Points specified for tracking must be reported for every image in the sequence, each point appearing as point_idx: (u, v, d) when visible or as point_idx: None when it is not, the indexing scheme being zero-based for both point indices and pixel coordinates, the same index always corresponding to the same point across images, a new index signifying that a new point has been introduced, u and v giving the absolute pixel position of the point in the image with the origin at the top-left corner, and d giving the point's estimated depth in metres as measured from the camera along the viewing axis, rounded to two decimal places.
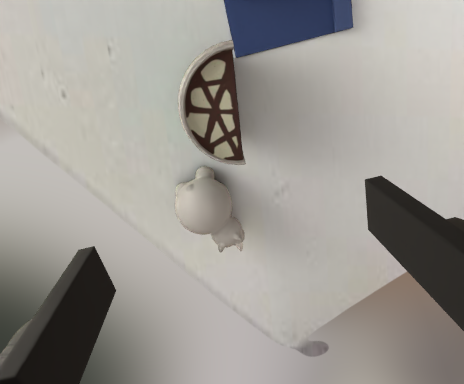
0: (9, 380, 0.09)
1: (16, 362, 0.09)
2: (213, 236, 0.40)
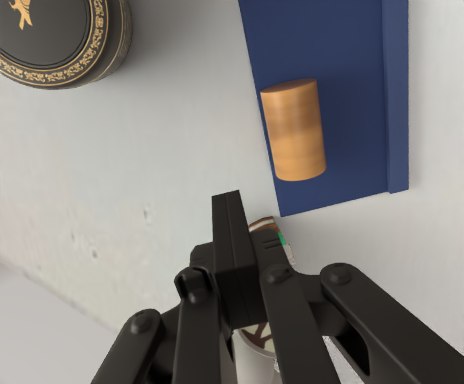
0: (229, 272, 0.11)
1: (226, 261, 0.11)
2: None
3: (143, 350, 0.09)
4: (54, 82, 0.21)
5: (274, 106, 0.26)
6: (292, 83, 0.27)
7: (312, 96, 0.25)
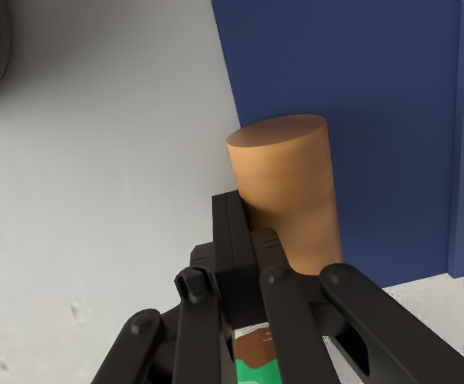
0: (230, 272, 0.11)
1: (227, 261, 0.11)
2: None
3: (143, 350, 0.09)
4: None
5: (236, 168, 0.15)
6: (285, 125, 0.15)
7: (301, 161, 0.13)
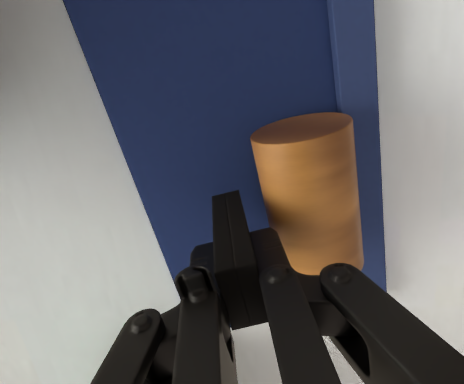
0: (230, 272, 0.11)
1: (227, 261, 0.11)
2: None
3: (143, 350, 0.09)
4: None
5: None
6: (288, 129, 0.15)
7: None
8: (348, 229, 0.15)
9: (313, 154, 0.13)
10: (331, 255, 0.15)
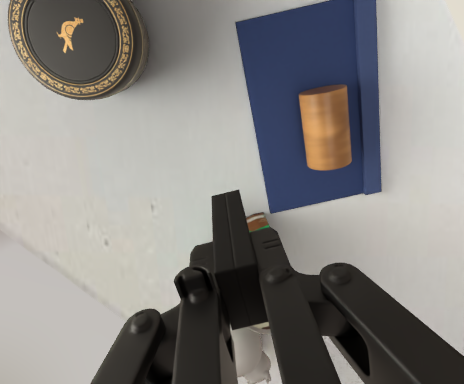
0: (229, 272, 0.11)
1: (226, 261, 0.11)
2: None
3: (143, 350, 0.09)
4: (87, 94, 0.26)
5: (347, 97, 0.32)
6: (316, 90, 0.32)
7: None
8: (326, 142, 0.32)
9: (309, 102, 0.31)
10: (316, 152, 0.33)
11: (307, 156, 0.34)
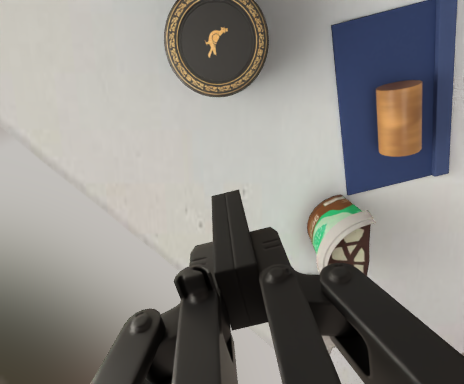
0: (229, 272, 0.11)
1: (226, 261, 0.11)
2: None
3: (143, 350, 0.09)
4: (223, 92, 0.31)
5: (421, 93, 0.35)
6: (393, 85, 0.37)
7: None
8: (392, 132, 0.37)
9: (381, 96, 0.36)
10: (384, 139, 0.38)
11: (378, 142, 0.40)
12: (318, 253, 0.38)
